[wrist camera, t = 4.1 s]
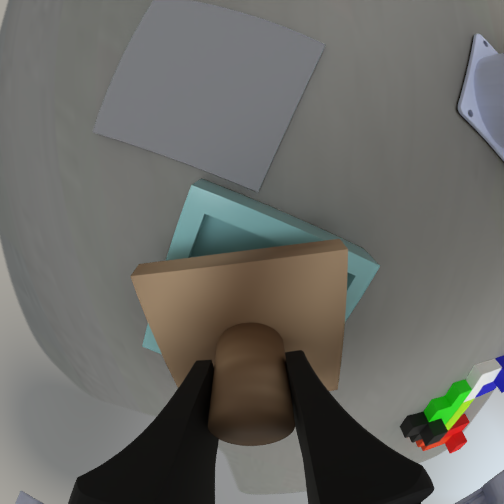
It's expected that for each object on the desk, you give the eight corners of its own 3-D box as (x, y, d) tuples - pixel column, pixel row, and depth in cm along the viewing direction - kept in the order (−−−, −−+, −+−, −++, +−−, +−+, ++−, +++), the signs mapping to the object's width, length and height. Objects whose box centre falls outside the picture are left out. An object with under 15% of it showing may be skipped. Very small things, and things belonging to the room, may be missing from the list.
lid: (339, 238, 10) (396, 318, 6) (333, 375, 14) (354, 453, 9) (139, 264, 11) (84, 347, 6) (188, 389, 14) (176, 467, 10)
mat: (324, 46, 12) (325, 44, 11) (257, 191, 15) (258, 192, 14) (158, -2, 10) (156, -5, 10) (95, 132, 13) (92, 132, 13)
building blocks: (431, 372, 21) (450, 402, 17) (502, 353, 21) (520, 374, 17) (378, 450, 26) (386, 475, 22) (449, 429, 27) (459, 449, 22)
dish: (363, 248, 16) (380, 265, 13) (288, 368, 19) (292, 393, 17) (201, 178, 14) (191, 184, 12) (153, 323, 18) (142, 346, 15)
